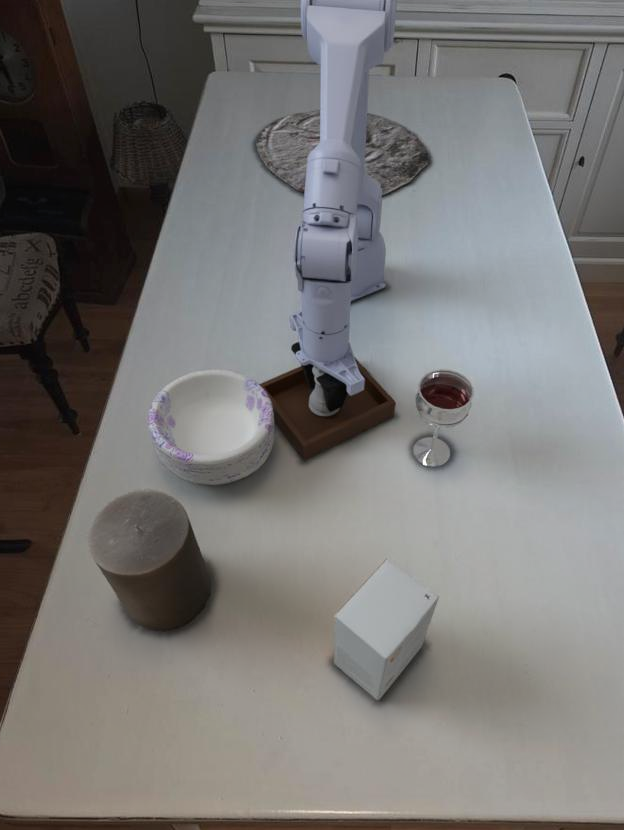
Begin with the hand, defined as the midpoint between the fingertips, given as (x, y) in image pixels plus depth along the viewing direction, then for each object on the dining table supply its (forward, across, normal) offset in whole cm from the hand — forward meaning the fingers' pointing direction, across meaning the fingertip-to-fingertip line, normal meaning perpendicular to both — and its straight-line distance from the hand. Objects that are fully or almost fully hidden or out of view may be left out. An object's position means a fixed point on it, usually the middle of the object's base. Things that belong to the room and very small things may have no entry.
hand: (325, 396), depth 86 cm
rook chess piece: (+2, 0, 0) cm, 2 cm away
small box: (+3, +33, -14) cm, 36 cm away
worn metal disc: (+2, -57, +39) cm, 69 cm away
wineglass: (+3, +14, +8) cm, 16 cm away
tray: (+2, 0, 0) cm, 2 cm away
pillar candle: (+3, +14, -30) cm, 33 cm away
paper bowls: (+3, -1, -16) cm, 16 cm away
